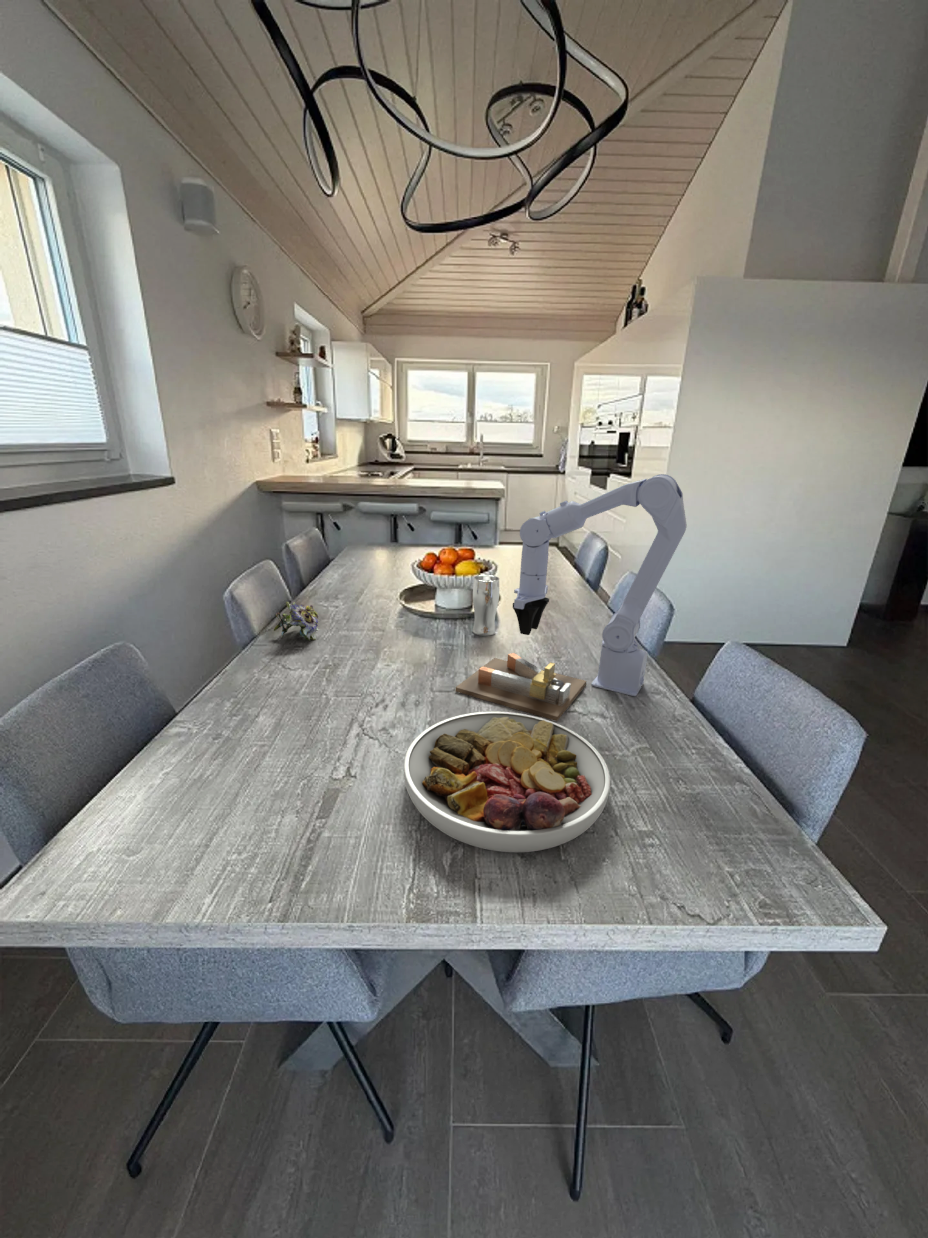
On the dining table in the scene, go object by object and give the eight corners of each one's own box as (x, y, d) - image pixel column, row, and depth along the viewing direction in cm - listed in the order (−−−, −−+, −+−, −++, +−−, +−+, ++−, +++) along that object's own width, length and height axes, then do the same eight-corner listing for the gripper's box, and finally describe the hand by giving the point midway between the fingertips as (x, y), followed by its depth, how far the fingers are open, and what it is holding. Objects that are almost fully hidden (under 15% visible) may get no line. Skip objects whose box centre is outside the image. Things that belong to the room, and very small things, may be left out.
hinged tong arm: (564, 697, 105) (566, 683, 104) (555, 699, 104) (556, 686, 103) (514, 665, 119) (515, 652, 118) (505, 667, 118) (506, 654, 117)
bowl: (384, 752, 88) (383, 710, 85) (543, 724, 98) (547, 686, 95) (440, 894, 61) (441, 839, 59) (650, 835, 71) (659, 787, 69)
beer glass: (487, 638, 137) (490, 583, 132) (465, 632, 141) (467, 578, 136) (502, 631, 142) (505, 577, 137) (481, 625, 146) (483, 573, 141)
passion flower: (313, 659, 134) (316, 633, 125) (268, 653, 132) (268, 626, 123) (320, 623, 141) (323, 596, 132) (277, 617, 139) (277, 588, 129)
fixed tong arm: (569, 698, 105) (570, 683, 104) (562, 706, 102) (563, 691, 101) (487, 675, 114) (488, 662, 113) (478, 683, 110) (478, 669, 109)
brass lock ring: (554, 688, 107) (556, 661, 105) (543, 699, 102) (546, 672, 100) (540, 684, 108) (542, 658, 106) (529, 695, 103) (531, 668, 101)
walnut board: (586, 685, 113) (586, 680, 113) (557, 721, 98) (557, 716, 98) (494, 661, 123) (494, 657, 123) (455, 691, 108) (455, 687, 108)
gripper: (529, 563, 123) (525, 618, 127) (502, 576, 111) (499, 637, 115) (558, 568, 119) (552, 624, 124) (533, 582, 107) (528, 643, 112)
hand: (528, 631), depth 119 cm, fingers open, 4 cm apart
